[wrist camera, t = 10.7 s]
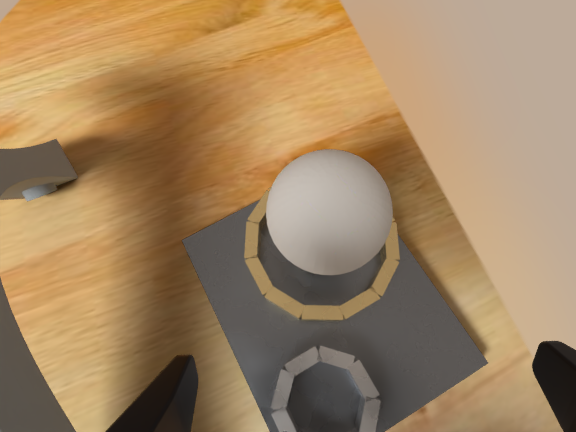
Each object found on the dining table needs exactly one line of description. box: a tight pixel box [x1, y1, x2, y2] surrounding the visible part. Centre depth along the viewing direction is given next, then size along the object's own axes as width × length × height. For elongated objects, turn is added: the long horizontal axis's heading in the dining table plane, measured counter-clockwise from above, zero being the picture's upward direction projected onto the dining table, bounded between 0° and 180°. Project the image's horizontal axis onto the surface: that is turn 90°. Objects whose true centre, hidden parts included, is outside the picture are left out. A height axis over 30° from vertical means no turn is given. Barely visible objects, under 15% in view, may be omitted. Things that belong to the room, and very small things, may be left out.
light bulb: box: [266, 149, 393, 275], centre depth 18 cm, size 6×6×10 cm
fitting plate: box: [182, 188, 488, 432], centre depth 22 cm, size 16×13×2 cm
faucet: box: [0, 139, 78, 432], centre depth 19 cm, size 6×17×30 cm
